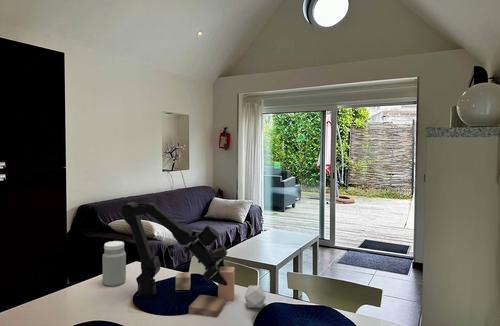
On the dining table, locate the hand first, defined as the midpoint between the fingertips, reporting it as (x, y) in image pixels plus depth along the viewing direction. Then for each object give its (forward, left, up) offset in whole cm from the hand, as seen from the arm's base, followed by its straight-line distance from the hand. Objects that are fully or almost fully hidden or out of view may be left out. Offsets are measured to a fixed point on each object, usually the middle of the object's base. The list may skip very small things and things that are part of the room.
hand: (228, 280), depth 145 cm
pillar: (-1, 0, -7) cm, 7 cm away
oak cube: (-22, +4, -7) cm, 23 cm away
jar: (-54, +1, -8) cm, 54 cm away
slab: (-5, -11, -8) cm, 14 cm away
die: (+12, -4, -8) cm, 15 cm away
